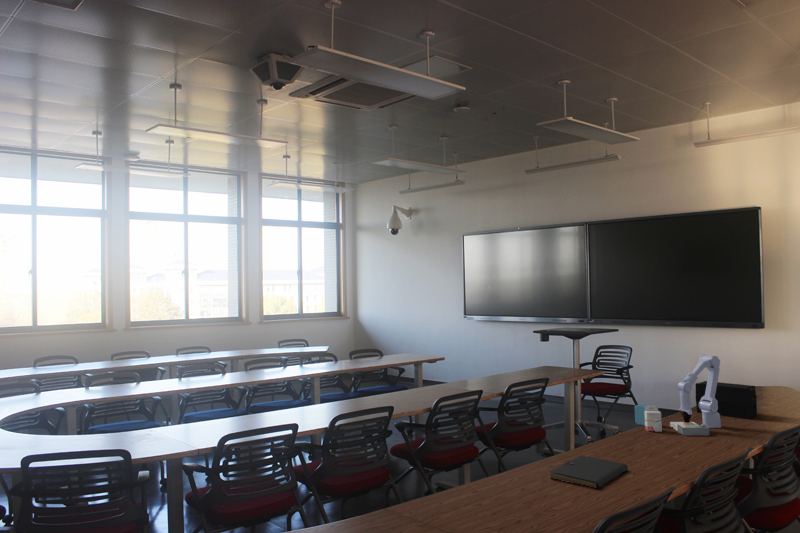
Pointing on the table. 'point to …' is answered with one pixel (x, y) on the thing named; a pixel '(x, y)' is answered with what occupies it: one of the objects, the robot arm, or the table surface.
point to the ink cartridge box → (652, 419)
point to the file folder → (588, 471)
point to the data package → (640, 414)
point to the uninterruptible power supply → (731, 399)
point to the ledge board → (674, 425)
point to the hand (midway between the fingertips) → (686, 424)
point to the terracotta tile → (687, 423)
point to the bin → (694, 431)
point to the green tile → (691, 426)
